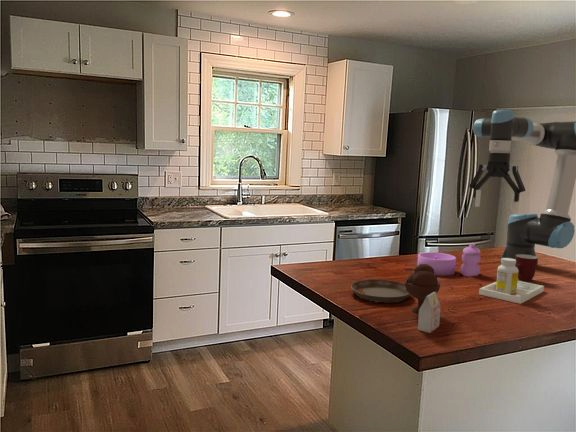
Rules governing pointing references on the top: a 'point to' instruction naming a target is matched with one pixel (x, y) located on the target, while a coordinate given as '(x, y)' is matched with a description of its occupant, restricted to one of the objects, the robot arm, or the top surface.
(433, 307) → the tea bag
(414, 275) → the ice cream bowl
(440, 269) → the container set
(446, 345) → the top surface
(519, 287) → the light grey round disc
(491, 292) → the two-compartment tray
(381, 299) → the plant saucer
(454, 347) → the top surface
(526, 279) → the mug
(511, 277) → the supplement bottle
